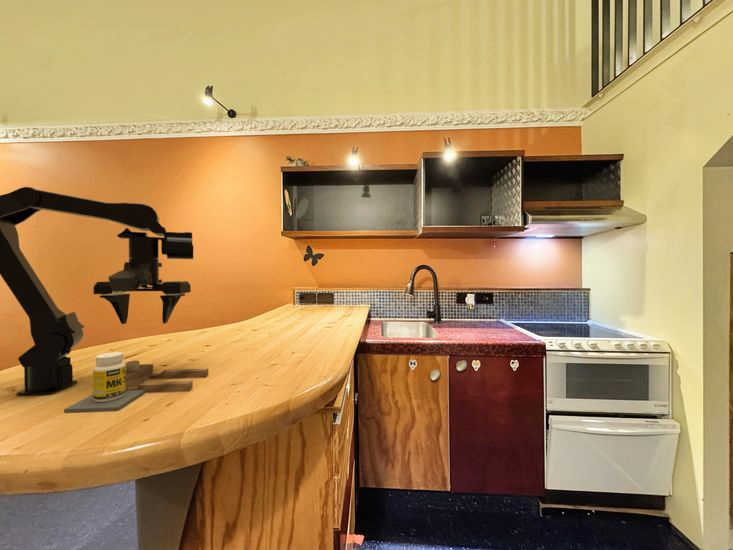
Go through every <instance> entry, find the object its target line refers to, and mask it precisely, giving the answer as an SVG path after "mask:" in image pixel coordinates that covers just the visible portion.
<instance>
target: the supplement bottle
mask: <svg viewBox="0 0 733 550" xmlns="http://www.w3.org/2000/svg"><path fill="white" fill-rule="evenodd" d="M123 360H124V352H122V351H113V352H112V351H111V352H105V353H101V354H99V355H96V356H95V364H96V365H95V366H94V367H93V371H92V374H93V378H92V379H93V380H92V382H93V383H92V384H93V385H92V386H93V387H92V388H93V389H92V391H93V392H92V395H93V400H94V401H95V402H108V401H112V400H116V399H118V398H121V397H122V396H124V395H125V371H126V362H124V361H123Z"/></svg>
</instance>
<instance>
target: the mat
mask: <svg viewBox="0 0 733 550" xmlns="http://www.w3.org/2000/svg"><path fill="white" fill-rule="evenodd" d="M145 394H146V390H126V391H125V395H124V396H122V397H121V398H118V399H116V400H112V401H108V402H95V401H94V400H93V394H91V395H89V396H87V397H85V398H83V399H81V400H79V401H77V402H76V403H73V404H72V405H69V406H68V407H66V408H64V409H63V413H64V414H65V413H66V414H67V413H68V414H69V413H90V412H111V411H112V412H113V411H114V412H115V411H117V412H118V411H120V410H122V409H123V408H125V407H126V406H127V405H129V404H131V403H133V402H134V401H136V400H137V399H139V398H140V397H141V396H144V395H145Z"/></svg>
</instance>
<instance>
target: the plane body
mask: <svg viewBox="0 0 733 550" xmlns="http://www.w3.org/2000/svg"><path fill="white" fill-rule="evenodd" d="M125 367H126V369H125V391H126V390H146V393H151V394H152V393H172V392H173V393H175V392H191V390H193V389H194V388H193V387H194V386H193V385H194V382H193V380H180V381H175V380H174V381H149V380H160V379H161V380H162V379H164V380H166V379H190V378H191V379H194V378H195V379H196V378H197V379H198V378H207V377H208V376H209V368H181V369H180V368H179V369H178V368H177V369H174V368H173V369H172V368H171V369H163V370H161V371H160V372H157V373H156V372H155V373H154V363H151V364H148V363H146V364H140V360H130V361H126V362H125ZM147 381H148V382H147ZM146 393H145V394H146Z"/></svg>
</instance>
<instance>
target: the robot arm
mask: <svg viewBox="0 0 733 550" xmlns="http://www.w3.org/2000/svg"><path fill="white" fill-rule="evenodd" d="M40 211H48V212H49V211H50V212H55V213H60V214H67V215H74V216H78V217H86V218H91V219H99V220H102V221H103V220H104V221H110V222H113V223H116V224H119V225H122V226H124V227H125V229H124V230H122V231H121V232H120V233H118V234H117V235H116V236H117V237H118V239H122V240H128V261H127V262H124V264H123V269H122V270H119V271H117V272H115V273H113V274H111V275H109V276H108V277H107V278H108V280H105V281H97V282H95V284H94V285H93V286H92V287H93V288H92V290H93V291H92V292H93V293H92V294H93V295H99V298H101V299H105V300H106V301H108V302H109V303H110V304H111V306H112V308H113V309H114V311H115V313H116V316H117V317H118V320H119V321H120V324H121V325H125V324H127V322H128V317H129V307H130V293H126V292H162V293H163V295H161V294H160V295H159V297H160V299H161V301H162V312H161V313H162V316H161V317H162V319H161V320H162V324H167V323H168V322H169V319H170V318H171V315H172V313H173V312H174V310H175V307H176V305H177V304H178V303H179V301H180V299H181V297H184V296H186V294H188V293H191V289H192V288H191V284H190V282H189V281H188V280H187V281H186V280H184V281H183V280H181V281H180V280H179V281H178V280H177V281H176V280H172V281H163V279H160V274H159V273H160V271H159V269H160V268H162V267H163V265H162V262H160V259H159V257H160V256H159V255H160V253H159V251H160V250H161V255H163V256H164V255H165V256H166V259H167V260H168V259H171V260H194V244H193V233H192V232H190V231H186V232H177V231H167V229H166V227H165V226H162V224H161V223H160V217H159V215H158V214H157V211H156V210H155V209H154V208H153V207H152V206H150V205H148V204H145V203H140V202H139V203H136V202H135V203H134V202H106V201H100V200H95V199H88V198H85V197H79V196H72V195H68V194H62V193H57V192H50V191H47V190H42V189H37V188H34V187H31V186H29V187H28V186H24V187H20V188H17V189H15V190H13V191H10V192H8V193H4V194H0V277H1V278H2V280H3V281H4V283H5V284H6V286H7V287H8V289H9V290H10V292H11V293H12V294H13V296H14V297H15V299H16V300H17V302H18V303H19V305H20V307H21V308H22V309H23V311H24V313H25V314H26V316H27V317H28V319H29V329H30V335H31V339H32V340H33V346H32V347H30V348H29V349H28V350H26V351H24V353H23V354H21V355H20V356H18V357H17V360H18V361H19V363H20V365H21V366H22V367H23V371H24V372H23V373H24V374H23V375H24V377H23V379H24V382H23V383H24V389H23V390H19V391H18V392H16V396H32V395H33V396H34V395H51V394H55V393H56V392H59V391H61V390H64V389H65V388H68V387H70V386H72V385H75V384H77V383H78V380H77V379H76V380H75V379H74V377H73V372H74V371H73V364H71V361H72V360H71V357H69V356H67V355H70V354H71V352H72V349H73V348H74V347H75V346H78V344H79V343H81V341H82V339H83V337H84V331H83V329H85V326H84V325H83V324H82V323H81V322H80V321H79V319H78V316H77V313H76V311H75V312H74V311H72V312H69V313H67V314H66V313H65V312H64V311H62V310H61V309H59V307H58V306H57V305H56V303H55V302H54V299H53V298H52V297H51V295H50V293H48V291H47V289H46V288H45V285H44V284H43V283H42V281H41V279H40V278H39V276H38V275H37V274H36V271H34V268H33V267H32V266H31V264H30V263H29V261H28V260H27V258H26V256H25V255H24V253H23V252H22V250H21V248H20V239H19V232H18V229H17V228H16V226H17V225H19V224H22V223H24V222H25V221H27V220H28V219H30V218H31V217H32V216H33V215H35V214H36V213H38V212H40ZM129 228H132V229H135V230H139V231H132V230H131V229H129ZM140 231H141V232H140ZM142 231H143V232H142ZM148 232H151V233H153V234H154V235H156V236H149V235H148ZM159 241H160V242H161V245H160V246H161V247H160V248H161V249H160V250H159Z"/></svg>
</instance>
